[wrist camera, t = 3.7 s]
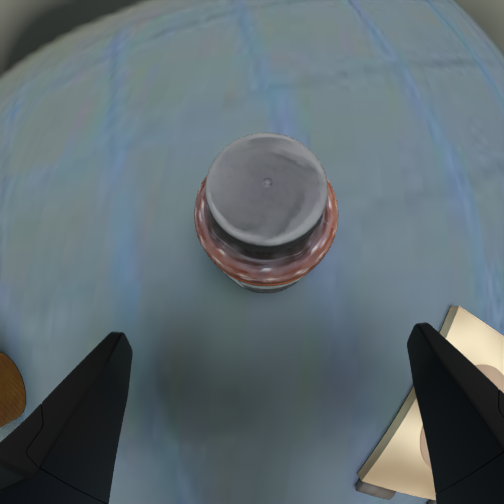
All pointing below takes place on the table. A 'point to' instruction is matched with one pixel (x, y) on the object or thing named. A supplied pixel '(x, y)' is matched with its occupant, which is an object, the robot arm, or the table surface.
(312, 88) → the table surface
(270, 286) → the supplement bottle
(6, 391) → the disposable coffee cup
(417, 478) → the board
